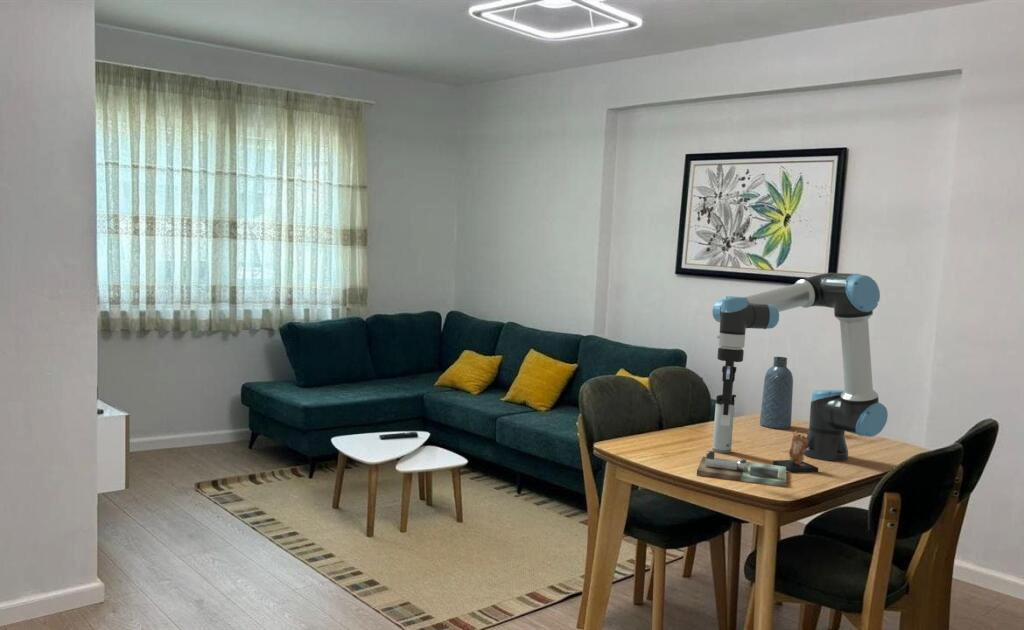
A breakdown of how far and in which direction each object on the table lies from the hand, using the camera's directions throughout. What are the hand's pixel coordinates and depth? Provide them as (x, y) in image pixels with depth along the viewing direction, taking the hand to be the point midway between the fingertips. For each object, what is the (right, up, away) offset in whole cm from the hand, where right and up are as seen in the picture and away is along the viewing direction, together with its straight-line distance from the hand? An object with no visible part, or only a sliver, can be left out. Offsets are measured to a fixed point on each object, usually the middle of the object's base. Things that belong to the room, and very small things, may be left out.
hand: (724, 424), depth 256 cm
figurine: (+27, -17, +18) cm, 37 cm away
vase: (+43, -12, +88) cm, 98 cm away
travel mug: (+8, -14, +37) cm, 40 cm away
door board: (+7, -16, +8) cm, 19 cm away
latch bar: (+2, -14, +6) cm, 16 cm away
